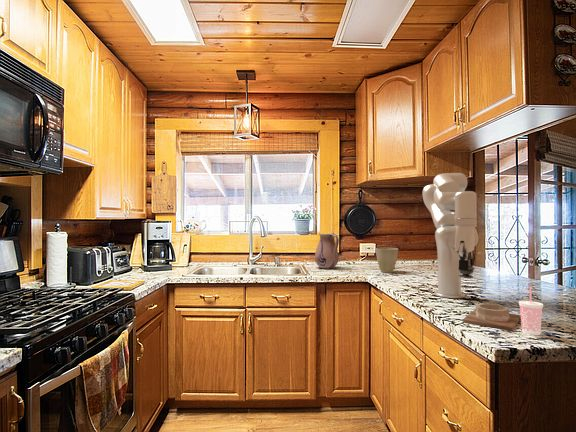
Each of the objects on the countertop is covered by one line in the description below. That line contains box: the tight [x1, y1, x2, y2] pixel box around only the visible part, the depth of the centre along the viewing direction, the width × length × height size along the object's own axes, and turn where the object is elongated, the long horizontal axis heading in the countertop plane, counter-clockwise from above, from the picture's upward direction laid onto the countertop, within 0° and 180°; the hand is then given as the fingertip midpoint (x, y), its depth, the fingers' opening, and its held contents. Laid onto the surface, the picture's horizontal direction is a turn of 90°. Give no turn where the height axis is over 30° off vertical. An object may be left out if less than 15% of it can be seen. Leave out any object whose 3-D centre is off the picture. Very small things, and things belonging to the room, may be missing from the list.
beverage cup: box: [518, 285, 544, 336], centre depth 102 cm, size 6×6×14 cm
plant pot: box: [374, 247, 399, 274], centre depth 225 cm, size 15×15×16 cm
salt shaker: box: [458, 251, 475, 279], centre depth 131 cm, size 6×6×12 cm
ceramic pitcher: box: [314, 233, 340, 270], centre depth 246 cm, size 18×21×25 cm
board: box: [462, 303, 521, 332], centre depth 115 cm, size 18×14×4 cm
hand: (465, 268), depth 131 cm, fingers closed on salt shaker, 5 cm apart
